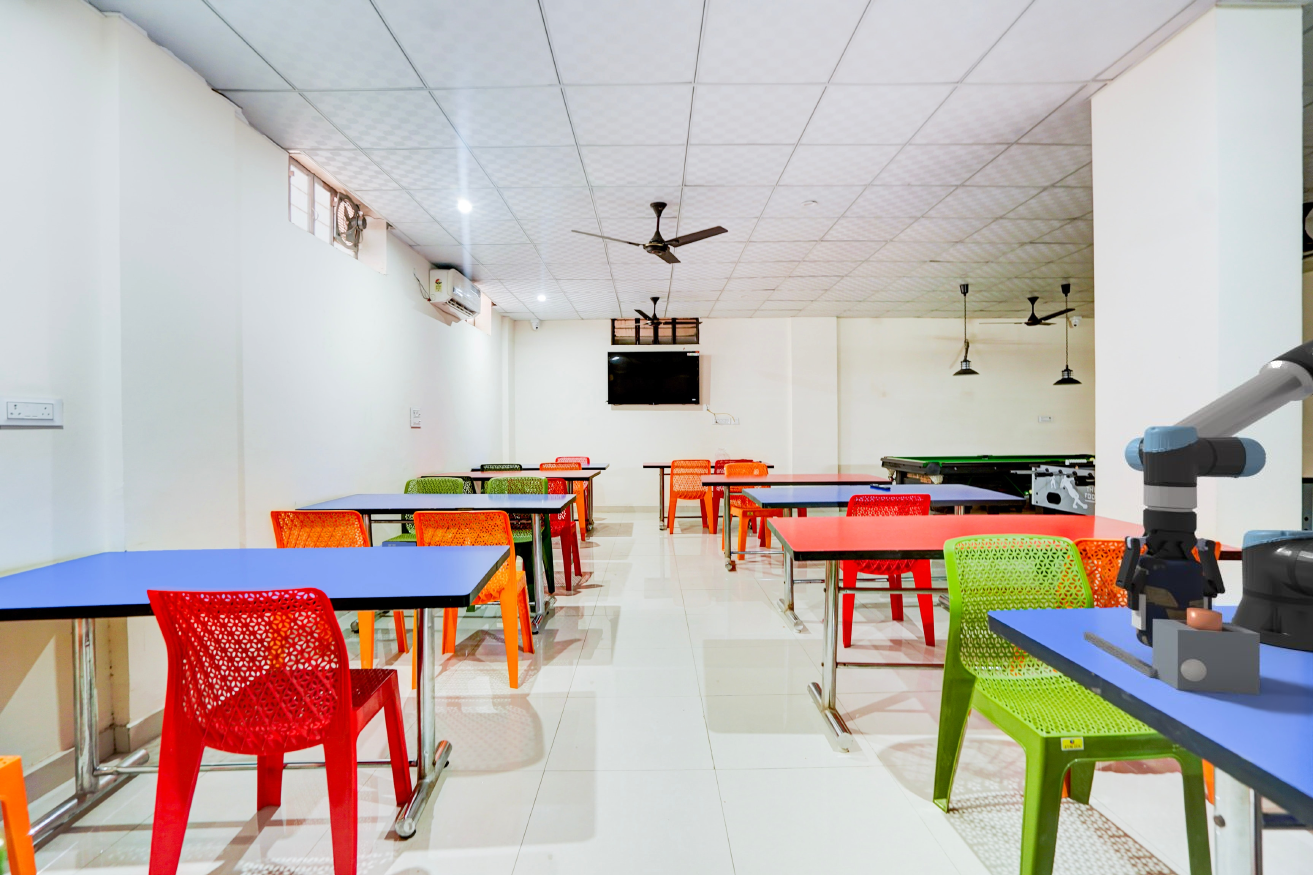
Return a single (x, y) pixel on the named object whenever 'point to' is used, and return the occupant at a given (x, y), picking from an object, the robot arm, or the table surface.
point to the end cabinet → (1207, 657)
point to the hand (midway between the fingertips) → (1168, 629)
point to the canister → (1169, 591)
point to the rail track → (1121, 654)
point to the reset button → (1204, 619)
